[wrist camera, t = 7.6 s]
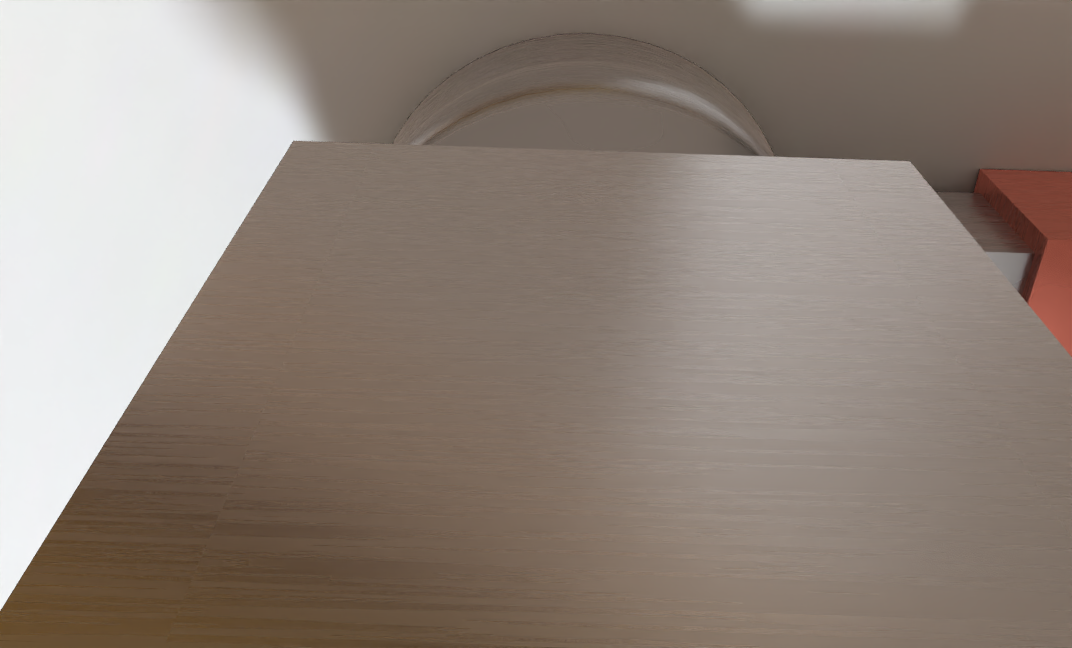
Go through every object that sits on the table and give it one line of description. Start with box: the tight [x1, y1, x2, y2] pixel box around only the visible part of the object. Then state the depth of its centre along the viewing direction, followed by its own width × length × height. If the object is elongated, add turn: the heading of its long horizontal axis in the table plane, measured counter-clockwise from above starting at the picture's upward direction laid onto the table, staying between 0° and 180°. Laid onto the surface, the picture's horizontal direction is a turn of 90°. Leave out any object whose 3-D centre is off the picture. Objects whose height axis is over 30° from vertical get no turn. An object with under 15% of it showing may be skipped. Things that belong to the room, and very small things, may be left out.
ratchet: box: [393, 34, 1072, 357], centre depth 12 cm, size 14×6×8 cm, turn 88°
